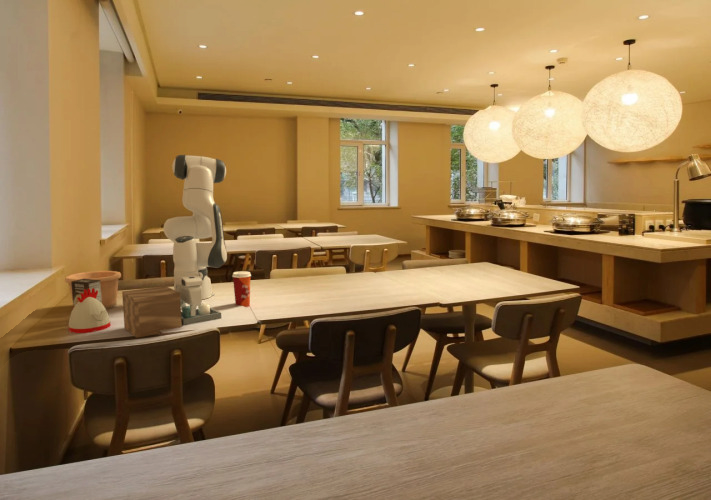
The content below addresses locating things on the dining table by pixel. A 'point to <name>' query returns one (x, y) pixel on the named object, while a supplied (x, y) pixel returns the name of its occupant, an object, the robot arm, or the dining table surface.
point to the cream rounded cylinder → (204, 309)
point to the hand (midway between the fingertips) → (188, 313)
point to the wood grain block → (151, 310)
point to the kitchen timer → (88, 314)
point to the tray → (201, 317)
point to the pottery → (107, 284)
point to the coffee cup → (242, 288)
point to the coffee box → (86, 284)
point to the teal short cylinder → (186, 312)
